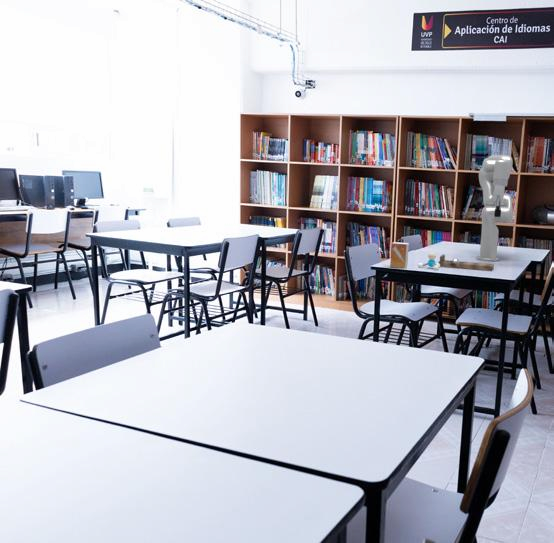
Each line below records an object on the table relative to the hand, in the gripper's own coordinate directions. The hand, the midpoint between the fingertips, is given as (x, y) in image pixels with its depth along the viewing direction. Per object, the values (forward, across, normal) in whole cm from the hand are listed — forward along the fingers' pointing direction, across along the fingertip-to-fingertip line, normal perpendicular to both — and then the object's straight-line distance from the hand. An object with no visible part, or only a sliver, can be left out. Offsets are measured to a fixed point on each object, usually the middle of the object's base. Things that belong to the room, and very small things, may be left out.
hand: (497, 216), depth 362 cm
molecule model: (+28, +30, -28) cm, 50 cm away
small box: (+27, +37, -45) cm, 64 cm away
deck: (+27, +17, -13) cm, 35 cm away
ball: (+25, +16, -19) cm, 35 cm away
